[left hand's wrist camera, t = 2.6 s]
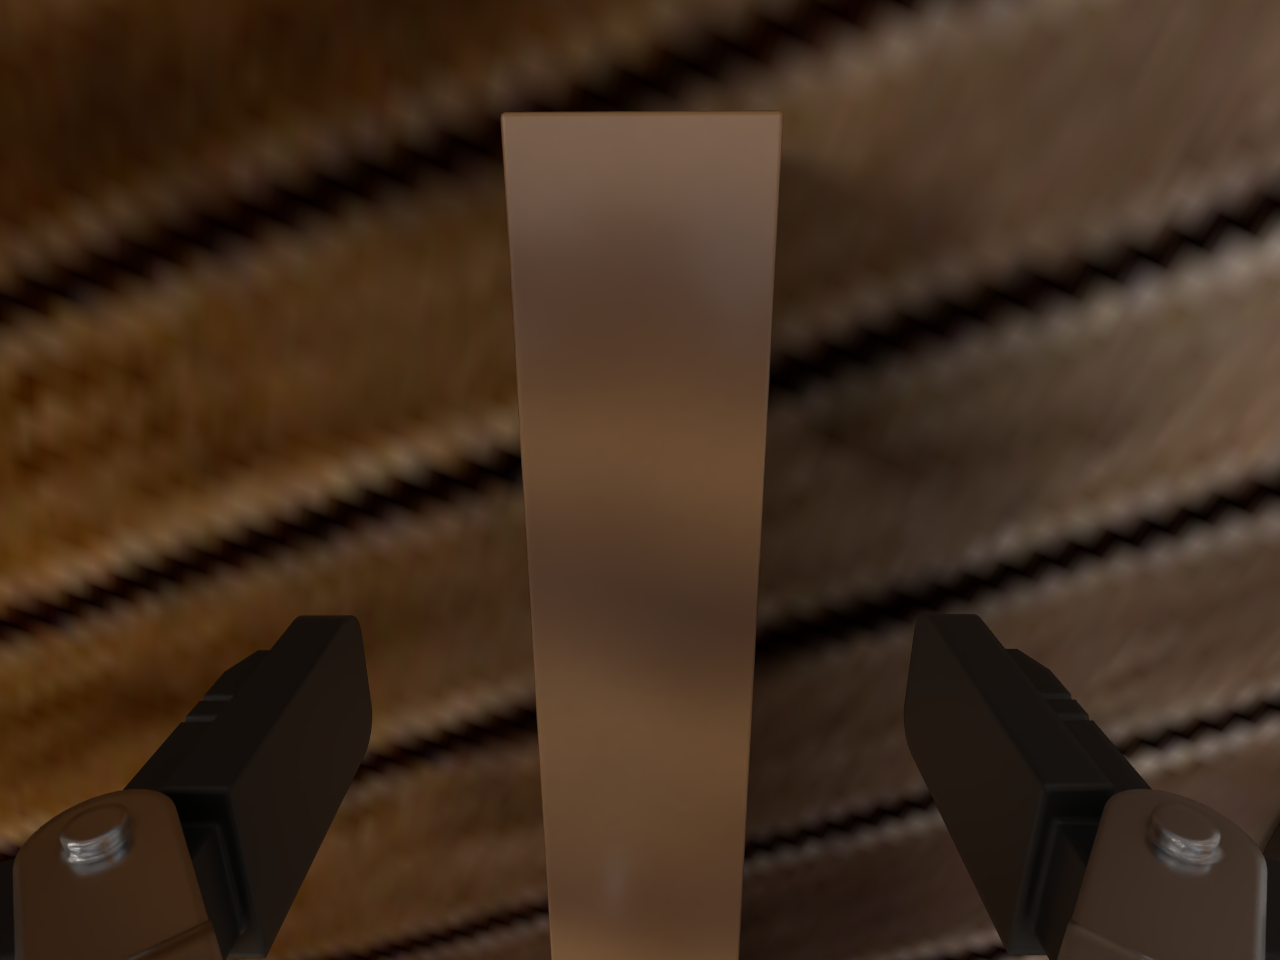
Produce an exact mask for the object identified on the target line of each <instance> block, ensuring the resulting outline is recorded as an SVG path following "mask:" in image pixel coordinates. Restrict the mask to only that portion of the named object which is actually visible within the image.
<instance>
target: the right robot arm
mask: <svg viewBox="0 0 1280 960" xmlns="http://www.w3.org/2000/svg"><path fill="white" fill-rule="evenodd" d="M1263 856H1264V857H1265V858H1269V859H1274V860H1278V861H1280V825H1279V826H1278V828H1277V830H1276V831H1275V833H1274V834H1273V836H1272V838H1271V839H1270V841H1269V843H1268V845H1267V847H1266V849H1265V851H1264V853H1263Z"/></svg>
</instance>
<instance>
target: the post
mask: <svg viewBox="0 0 1280 960" xmlns="http://www.w3.org/2000/svg"><path fill="white" fill-rule="evenodd" d="M782 129H783V114H782V112H780V111H623V112H505V113H503V114H502V115H501V131H502V148H503V165H504V181H505V198H506V214H507V231H508V247H509V264H510V280H511V297H512V313H513V330H514V346H515V363H516V380H517V396H518V413H519V429H520V446H521V462H522V479H523V495H524V512H525V528H526V545H527V561H528V578H529V595H530V611H531V628H532V644H533V661H534V677H535V694H536V710H537V727H538V743H539V760H540V776H541V793H542V810H543V826H544V843H545V859H546V876H547V892H548V909H549V925H550V942H551V958H552V960H739V948H740V929H741V910H742V891H743V872H744V853H745V834H746V815H747V795H748V776H749V757H750V738H751V719H752V700H753V681H754V662H755V643H756V624H757V605H758V586H759V567H760V548H761V529H762V510H763V491H764V472H765V453H766V434H767V415H768V396H769V377H770V358H771V339H772V320H773V301H774V282H775V263H776V244H777V225H778V206H779V186H780V167H781V148H782Z"/></svg>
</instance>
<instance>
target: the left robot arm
mask: <svg viewBox="0 0 1280 960" xmlns="http://www.w3.org/2000/svg"><path fill="white" fill-rule="evenodd" d="M904 725H905V733H906V738H907V742H908V746H909V749H910V751H911V754H912V756H913V758H914V760H915V762H916V764H917V766H918V768H919V770H920V772H921V775H922V777H923V779H924V781H925V783H926V785H927V787H928V789H929V791H930V793H931V795H932V797H933V799H934V802H935V804H936V806H937V808H938V810H939V812H940V814H941V816H942V818H943V820H944V822H945V824H946V826H947V829H948V831H949V833H950V835H951V837H952V839H953V841H954V843H955V845H956V847H957V849H958V851H959V853H960V856H961V858H962V860H963V862H964V864H965V866H966V868H967V870H968V872H969V874H970V876H971V878H972V880H973V883H974V885H975V887H976V889H977V891H978V893H979V895H980V897H981V899H982V901H983V903H984V905H985V907H986V910H987V912H988V914H989V916H990V918H991V920H992V922H993V924H994V926H995V928H996V930H997V932H998V934H999V937H1000V939H1001V941H1002V943H1003V945H1004V947H1005V949H1006V951H1007V953H1008V955H1047V956H1048V958H1049V960H1280V861H1278V860H1274V859H1269V858H1265V857H1264V856H1263V854H1262V852H1261V851H1260V849H1259V848H1258V846H1257V845H1256V843H1255V842H1254V841H1253V840H1252V839H1251V838H1250V837H1249V836H1248V834H1246V833H1245V832H1244V831H1243V830H1242V829H1241V828H1240V827H1239V826H1237V825H1236V824H1235V823H1233V822H1232V821H1230V820H1229V819H1228V818H1226V817H1225V816H1223V815H1221V814H1220V813H1218V812H1216V811H1215V810H1213V809H1211V808H1209V807H1207V806H1205V805H1203V804H1201V803H1198V802H1196V801H1194V800H1191V799H1189V798H1186V797H1183V796H1180V795H1176V794H1173V793H1169V792H1164V791H1159V790H1152V789H1151V788H1150V787H1149V785H1148V784H1147V783H1146V782H1145V781H1144V780H1143V778H1142V777H1141V776H1140V775H1139V774H1138V773H1137V771H1136V770H1135V769H1134V768H1133V767H1132V766H1131V764H1130V763H1129V762H1128V761H1127V760H1126V759H1125V757H1124V756H1123V755H1122V754H1121V753H1120V752H1119V750H1118V749H1117V748H1116V747H1115V746H1114V744H1113V743H1112V742H1111V741H1110V740H1109V739H1108V737H1107V736H1106V735H1105V734H1104V733H1103V732H1102V730H1101V729H1100V728H1099V727H1098V726H1097V725H1096V723H1095V722H1094V721H1089V718H1088V714H1087V713H1086V712H1085V711H1084V709H1083V708H1082V707H1081V706H1080V705H1079V704H1078V702H1077V701H1076V700H1072V699H1071V694H1070V693H1069V692H1068V691H1067V689H1066V688H1065V687H1064V686H1063V685H1062V684H1061V682H1060V681H1059V680H1058V679H1057V678H1056V677H1055V675H1054V674H1053V673H1052V672H1051V671H1050V670H1049V669H1048V668H1046V667H1044V666H1043V665H1041V664H1040V663H1038V662H1037V661H1035V660H1033V659H1032V658H1030V657H1029V656H1027V655H1026V654H1024V653H1023V652H1021V651H1019V650H1018V649H1005V648H1004V647H1003V646H1002V644H1001V643H1000V642H999V641H998V639H997V638H996V637H995V636H994V634H993V633H992V632H991V631H990V629H989V628H988V627H987V626H986V624H985V623H984V622H983V621H982V619H981V618H980V617H979V616H977V615H975V614H923V615H921V616H920V617H919V618H918V620H917V622H916V626H915V631H914V638H913V645H912V652H911V660H910V667H909V675H908V682H907V690H906V697H905V705H904ZM371 726H372V707H371V699H370V691H369V684H368V677H367V670H366V662H365V655H364V648H363V640H362V633H361V628H360V624H359V622H358V620H357V618H356V617H354V616H299V617H297V618H296V619H295V620H294V621H293V622H292V624H291V625H290V626H289V627H288V629H287V630H286V631H285V632H284V634H283V635H282V636H281V637H280V638H279V640H278V641H277V642H276V643H275V645H274V646H273V647H272V648H271V650H258V651H257V652H255V653H253V654H252V655H250V656H249V657H247V658H246V659H244V660H242V661H241V662H239V663H238V664H236V665H235V666H233V667H231V668H230V669H228V670H227V671H225V672H224V673H223V675H222V676H221V677H220V678H219V679H218V680H217V681H216V683H215V684H214V685H213V686H212V687H211V688H210V690H209V691H208V692H207V693H206V694H205V695H204V700H203V701H199V702H198V704H197V705H196V706H195V707H194V708H193V709H192V710H191V712H190V713H189V714H188V715H187V716H186V721H185V722H181V723H180V724H179V726H178V727H177V728H176V729H175V730H174V731H173V733H172V734H171V735H170V736H169V737H168V738H167V740H166V741H165V742H164V743H163V744H162V745H161V746H160V748H159V749H158V750H157V751H156V752H155V753H154V755H153V756H152V757H151V758H150V759H149V760H148V762H147V763H146V764H145V765H144V766H143V767H142V769H141V770H140V771H139V772H138V773H137V774H136V775H135V777H134V778H133V779H132V780H131V781H130V782H129V784H128V785H127V786H126V787H125V788H124V789H123V790H121V791H116V792H111V793H107V794H104V795H100V796H97V797H94V798H91V799H89V800H86V801H84V802H82V803H79V804H77V805H75V806H73V807H71V808H69V809H67V810H65V811H64V812H62V813H60V814H59V815H57V816H55V817H54V818H52V819H51V820H50V821H48V822H47V823H45V824H44V825H43V826H41V827H40V828H39V829H38V830H37V831H36V832H35V833H34V834H32V836H31V837H30V838H29V839H28V840H27V841H26V842H25V843H24V845H23V846H22V848H21V849H20V851H19V852H18V854H17V856H16V858H14V859H11V860H7V861H3V862H0V960H226V959H227V958H266V956H267V954H268V952H269V950H270V948H271V946H272V944H273V942H274V940H275V938H276V936H277V934H278V932H279V929H280V927H281V925H282V923H283V921H284V919H285V917H286V915H287V913H288V911H289V909H290V907H291V905H292V903H293V901H294V899H295V897H296V895H297V893H298V891H299V888H300V886H301V884H302V882H303V880H304V878H305V876H306V874H307V872H308V870H309V868H310V866H311V864H312V862H313V860H314V858H315V856H316V854H317V852H318V849H319V847H320V845H321V843H322V841H323V839H324V837H325V835H326V833H327V831H328V829H329V827H330V825H331V823H332V821H333V819H334V817H335V815H336V813H337V811H338V808H339V806H340V804H341V802H342V800H343V798H344V796H345V794H346V792H347V790H348V788H349V786H350V784H351V782H352V780H353V778H354V776H355V774H356V772H357V770H358V767H359V765H360V763H361V761H362V759H363V757H364V755H365V753H366V750H367V747H368V744H369V740H370V734H371Z"/></svg>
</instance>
